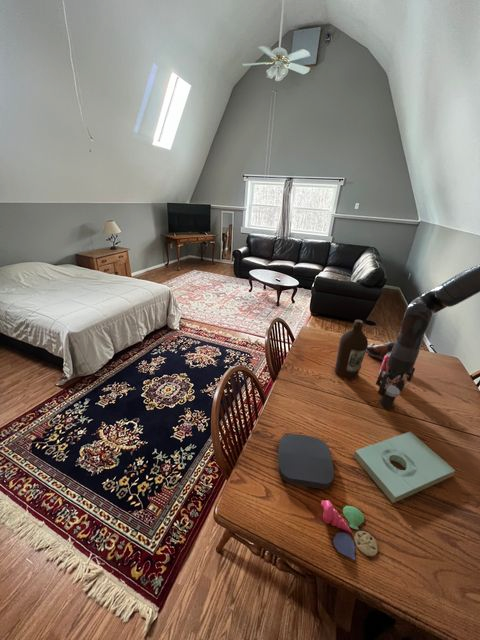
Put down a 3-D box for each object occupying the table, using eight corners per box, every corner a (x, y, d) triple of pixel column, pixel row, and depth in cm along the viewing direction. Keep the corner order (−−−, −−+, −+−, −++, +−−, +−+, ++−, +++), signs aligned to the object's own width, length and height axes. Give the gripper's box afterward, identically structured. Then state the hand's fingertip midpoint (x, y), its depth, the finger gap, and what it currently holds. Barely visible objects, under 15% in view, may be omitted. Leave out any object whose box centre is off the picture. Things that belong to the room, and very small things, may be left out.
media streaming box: (277, 483, 70) (279, 475, 69) (278, 437, 83) (279, 430, 82) (335, 492, 69) (337, 484, 67) (326, 444, 82) (328, 437, 81)
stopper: (386, 397, 103) (391, 383, 100) (397, 406, 98) (403, 392, 95) (375, 400, 101) (380, 385, 98) (386, 410, 96) (392, 395, 94)
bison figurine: (361, 354, 130) (366, 336, 126) (368, 349, 135) (373, 331, 131) (387, 365, 123) (393, 346, 118) (393, 359, 127) (399, 341, 123)
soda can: (399, 385, 110) (408, 360, 105) (382, 384, 110) (390, 360, 104) (390, 374, 116) (398, 351, 111) (374, 374, 116) (382, 350, 111)
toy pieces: (322, 553, 57) (326, 542, 55) (318, 500, 67) (321, 488, 65) (382, 567, 55) (388, 556, 53) (368, 510, 65) (373, 499, 63)
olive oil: (328, 367, 119) (339, 316, 109) (349, 364, 122) (362, 314, 111) (341, 382, 110) (355, 328, 99) (364, 379, 112) (380, 326, 102)
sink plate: (407, 437, 86) (410, 431, 85) (451, 476, 74) (455, 470, 73) (353, 456, 79) (355, 450, 78) (392, 503, 67) (395, 497, 66)
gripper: (397, 364, 85) (383, 403, 92) (428, 357, 90) (412, 395, 97) (379, 352, 91) (366, 389, 98) (409, 346, 96) (395, 382, 103)
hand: (389, 392), depth 97 cm, fingers open, 8 cm apart
